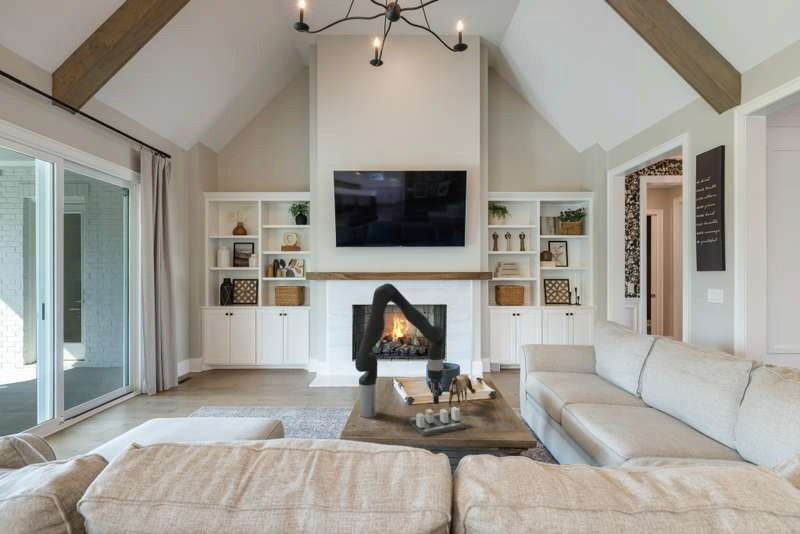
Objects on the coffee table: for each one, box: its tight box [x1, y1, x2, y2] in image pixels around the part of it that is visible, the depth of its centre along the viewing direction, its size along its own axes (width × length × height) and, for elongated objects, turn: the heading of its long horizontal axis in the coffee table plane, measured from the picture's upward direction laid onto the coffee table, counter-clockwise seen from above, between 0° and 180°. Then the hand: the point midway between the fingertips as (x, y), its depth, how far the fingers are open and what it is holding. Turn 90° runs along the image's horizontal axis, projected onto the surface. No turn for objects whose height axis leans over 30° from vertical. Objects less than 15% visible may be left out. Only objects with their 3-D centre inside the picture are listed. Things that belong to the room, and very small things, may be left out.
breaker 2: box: [425, 408, 435, 423], centre depth 203 cm, size 4×3×6 cm, turn 22°
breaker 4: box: [451, 406, 461, 421], centre depth 205 cm, size 4×2×6 cm, turn 22°
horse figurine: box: [448, 374, 477, 414], centre depth 227 cm, size 31×8×21 cm, turn 149°
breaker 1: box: [415, 412, 425, 428], centre depth 198 cm, size 4×2×6 cm, turn 22°
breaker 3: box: [439, 408, 449, 423], centre depth 203 cm, size 4×2×6 cm, turn 22°
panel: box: [407, 412, 465, 437], centre depth 204 cm, size 18×23×2 cm
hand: (436, 403), depth 196 cm, fingers closed
